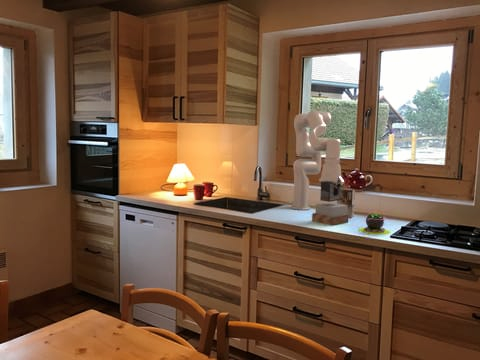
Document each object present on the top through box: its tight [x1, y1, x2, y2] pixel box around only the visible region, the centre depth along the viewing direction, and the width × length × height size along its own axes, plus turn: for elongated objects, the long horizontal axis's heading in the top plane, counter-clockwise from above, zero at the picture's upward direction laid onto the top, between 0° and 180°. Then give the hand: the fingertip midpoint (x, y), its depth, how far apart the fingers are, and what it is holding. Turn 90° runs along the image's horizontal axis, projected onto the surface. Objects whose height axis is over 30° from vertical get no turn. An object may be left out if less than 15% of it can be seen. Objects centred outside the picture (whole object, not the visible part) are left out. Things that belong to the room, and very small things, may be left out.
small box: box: [320, 181, 342, 203], centre depth 240 cm, size 11×6×10 cm, turn 134°
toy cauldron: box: [358, 210, 391, 235], centre depth 221 cm, size 15×15×11 cm
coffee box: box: [336, 188, 356, 219], centre depth 259 cm, size 9×6×16 cm
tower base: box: [311, 212, 350, 227], centre depth 241 cm, size 14×14×5 cm
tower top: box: [315, 202, 348, 217], centre depth 241 cm, size 12×12×5 cm
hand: (330, 194), depth 240 cm, fingers closed on small box, 6 cm apart
